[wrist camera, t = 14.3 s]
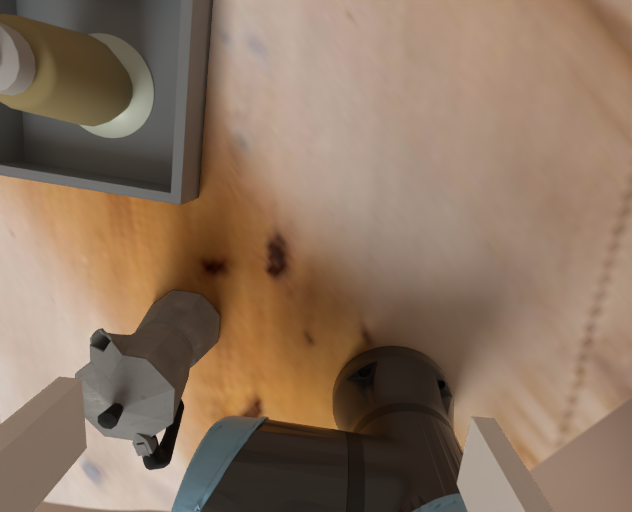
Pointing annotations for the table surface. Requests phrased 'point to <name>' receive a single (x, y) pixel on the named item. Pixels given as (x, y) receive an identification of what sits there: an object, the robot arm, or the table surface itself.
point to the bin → (144, 109)
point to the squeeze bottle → (60, 73)
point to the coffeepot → (148, 374)
